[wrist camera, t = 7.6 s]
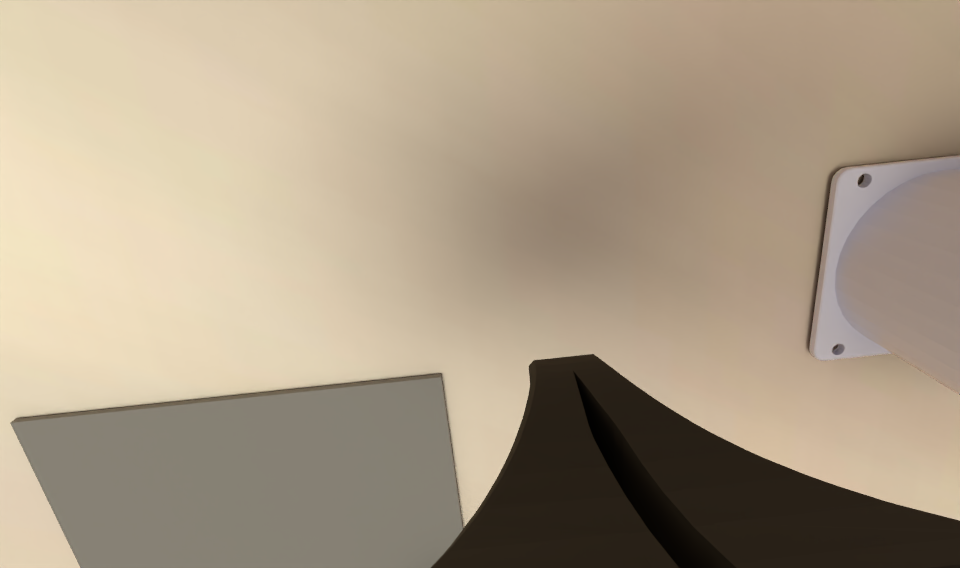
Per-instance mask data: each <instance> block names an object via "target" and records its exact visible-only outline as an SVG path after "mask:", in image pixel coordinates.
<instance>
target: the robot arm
mask: <svg viewBox="0 0 960 568" xmlns="http://www.w3.org/2000/svg"><path fill="white" fill-rule="evenodd" d="M862 174H864V180H863V182H862V183H861V184H860V185H858V183H857V181H858V179H859V177H860V176H861V175H862ZM837 344H838V347H837V348H836V349H835V350H832V349H833V347H834V346H835V345H837ZM809 350H810V353H811V355H812V356H813V357H815V358H816V359H818V360H820V361H827V360H836V359H846V358H855V357H865V356H874V355H883V354H894V355H896V356H898V357H899V358H901V359H902V360H904V361H906V362H907V363H909V364H910V365H912V366H914V367H915V368H917V369H919V370H920V371H922V372H923V373H925V374H927V375H928V376H930V377H932V378H933V379H935V380H936V381H938V382H940V383H941V384H943V385H944V386H946V387H948V388H949V389H951V390H953V391H954V392H956V393H957V394H959V395H960V155H956V156H946V157H937V158H927V159H918V160H909V161H899V162H890V163H880V164H871V165H861V166H852V167H845V168H842V169H840V170H839V171H837V172H836V174H835V175H834V176H833V179H832V182H831V189H830V197H829V204H828V212H827V219H826V227H825V234H824V242H823V249H822V257H821V264H820V272H819V279H818V287H817V294H816V302H815V309H814V317H813V324H812V332H811V339H810V347H809ZM529 375H530V390H529V396H528V400H527V404H526V408H525V412H524V416H523V419H522V422H521V425H520V428H519V430H518V433H517V436H516V439H515V442H514V444H513V446H512V449H511V451H510V453H509V456H508V458H507V460H506V462H505V464H504V466H503V468H502V470H501V472H500V474H499V476H498V477H497V479H496V481H495V483H494V484H493V486H492V488H491V489H490V491H489V493H488V494H487V496H486V498H485V499H484V501H483V502H482V504H481V506H480V507H479V509H478V510H477V511H476V513H475V514H474V516H473V517H472V518H471V520H470V521H469V522H468V523H467V525H466V526H465V527H464V529H463V530H462V531H461V533H460V534H459V535H458V537H457V538H456V539H455V540H454V542H453V543H452V544H451V546H450V547H449V548H448V549H447V550H446V551H445V553H444V554H443V555H442V556H441V557H440V558H439V559H438V560H437V561H436V562H435V563H434V564H433V566H432V567H431V568H960V521H959V520H955V519H951V518H947V517H943V516H939V515H935V514H931V513H927V512H924V511H920V510H916V509H912V508H908V507H904V506H900V505H896V504H893V503H889V502H886V501H882V500H879V499H876V498H873V497H870V496H867V495H864V494H860V493H857V492H854V491H851V490H848V489H845V488H842V487H838V486H835V485H833V484H830V483H827V482H824V481H821V480H819V479H816V478H813V477H810V476H807V475H805V474H802V473H800V472H797V471H795V470H792V469H790V468H787V467H785V466H782V465H780V464H777V463H775V462H772V461H770V460H767V459H765V458H763V457H760V456H758V455H756V454H754V453H751V452H749V451H747V450H745V449H743V448H741V447H739V446H737V445H735V444H733V443H731V442H728V441H726V440H724V439H722V438H720V437H718V436H716V435H714V434H712V433H710V432H709V431H707V430H705V429H703V428H701V427H700V426H698V425H696V424H694V423H693V422H691V421H689V420H688V419H686V418H684V417H683V416H681V415H679V414H678V413H676V412H674V411H673V410H671V409H669V408H668V407H666V406H665V405H663V404H662V403H660V402H659V401H657V400H656V399H654V398H653V397H651V396H650V395H648V394H647V393H645V392H644V391H642V390H641V389H640V388H638V387H637V386H635V385H634V384H633V383H631V382H630V381H629V380H627V379H626V378H624V377H623V376H622V375H620V374H619V373H618V372H616V371H615V370H614V369H613V368H611V367H610V366H609V365H607V364H606V363H605V362H603V361H602V360H601V359H599V358H598V357H596V356H595V355H594V354H590V355H581V356H571V357H562V358H553V359H543V360H534V361H533V362H532V363H531V364H530V365H529Z"/></svg>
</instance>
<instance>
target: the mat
mask: <svg viewBox="0 0 960 568" xmlns="http://www.w3.org/2000/svg"><path fill="white" fill-rule="evenodd" d="M11 425H12V427H13V429H14V431H15V433H16V436H17V438H18V440H19V442H20V444H21V446H22V448H23V450H24V452H25V454H26V456H27V458H28V460H29V462H30V464H31V466H32V469H33V471H34V473H35V475H36V477H37V479H38V481H39V483H40V485H41V487H42V489H43V491H44V493H45V495H46V497H47V499H48V502H49V504H50V506H51V508H52V510H53V512H54V514H55V516H56V518H57V520H58V522H59V524H60V526H61V528H62V530H63V532H64V535H65V537H66V539H67V541H68V543H69V545H70V547H71V549H72V551H73V553H74V555H75V557H76V559H77V561H78V563H79V565H80V568H431V567H432V566H433V564H434V563H435V562H436V561H437V560H438V559H439V558H440V557H441V556H442V555H443V554H444V553H445V551H446V550H447V549H448V548H449V547H450V546H451V544H452V543H453V542H454V540H455V539H456V538H457V537H458V535H459V534H460V533H461V531H462V530H463V523H462V516H461V509H460V502H459V495H458V487H457V480H456V473H455V466H454V459H453V452H452V445H451V438H450V431H449V424H448V417H447V410H446V403H445V396H444V389H443V382H442V374H433V375H423V376H414V377H404V378H395V379H386V380H376V381H367V382H357V383H348V384H338V385H329V386H320V387H310V388H301V389H291V390H282V391H272V392H263V393H253V394H244V395H235V396H225V397H216V398H206V399H197V400H187V401H178V402H169V403H159V404H150V405H140V406H131V407H121V408H112V409H103V410H93V411H84V412H74V413H65V414H55V415H46V416H36V417H27V418H18V419H15V420H14V421H12V422H11Z"/></svg>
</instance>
